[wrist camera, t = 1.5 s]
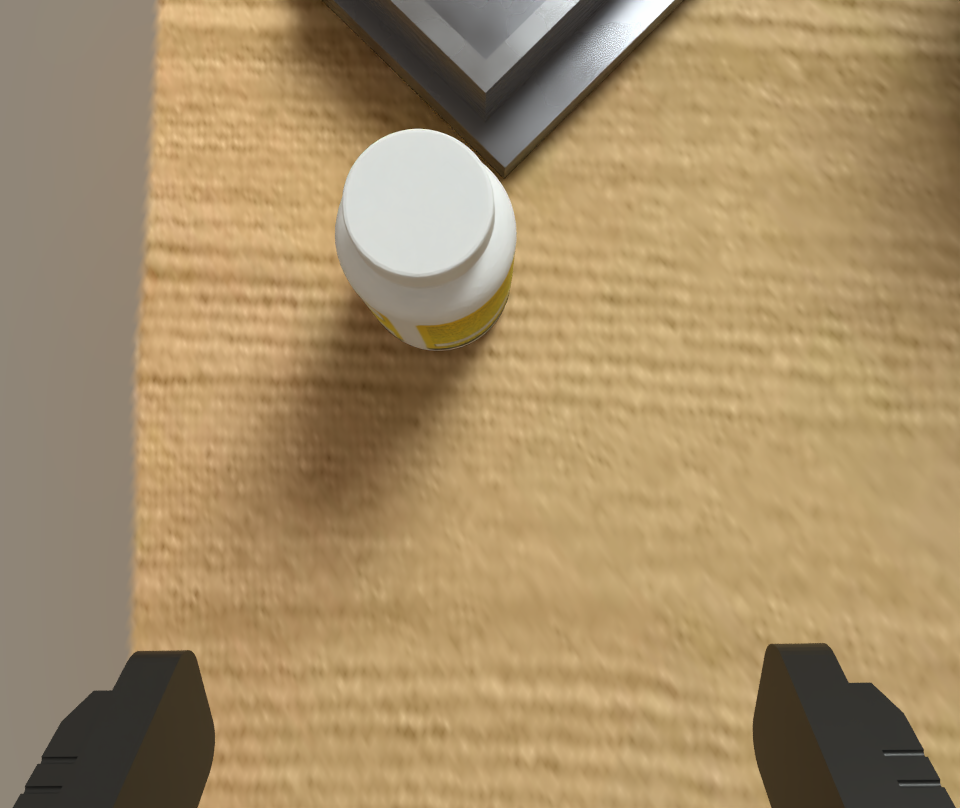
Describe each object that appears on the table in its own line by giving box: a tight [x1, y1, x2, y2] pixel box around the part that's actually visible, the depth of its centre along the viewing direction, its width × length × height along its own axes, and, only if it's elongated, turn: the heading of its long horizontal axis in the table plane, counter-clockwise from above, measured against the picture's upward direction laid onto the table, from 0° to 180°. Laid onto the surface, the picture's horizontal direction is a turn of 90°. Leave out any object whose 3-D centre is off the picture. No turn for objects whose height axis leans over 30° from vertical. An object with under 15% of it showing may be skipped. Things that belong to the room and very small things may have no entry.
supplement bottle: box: [335, 129, 517, 351], centre depth 26 cm, size 5×5×10 cm
